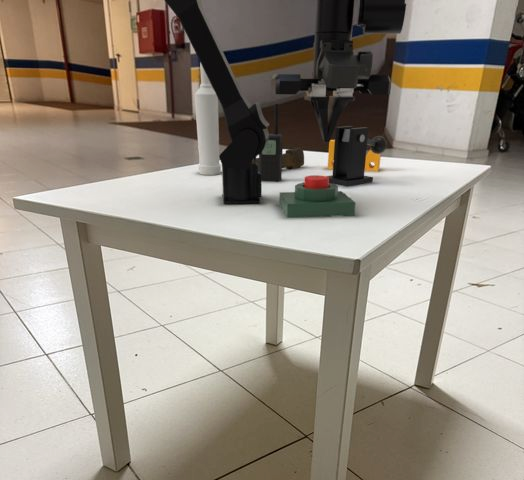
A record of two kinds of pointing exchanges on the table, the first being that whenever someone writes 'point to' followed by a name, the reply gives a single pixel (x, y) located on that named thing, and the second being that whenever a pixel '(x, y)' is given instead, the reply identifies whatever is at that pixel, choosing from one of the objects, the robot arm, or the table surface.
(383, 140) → the lever
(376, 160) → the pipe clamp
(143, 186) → the table surface
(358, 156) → the bracket
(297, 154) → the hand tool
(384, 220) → the table surface
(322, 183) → the button
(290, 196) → the button box
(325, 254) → the table surface
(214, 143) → the bottle
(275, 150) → the walkie-talkie
